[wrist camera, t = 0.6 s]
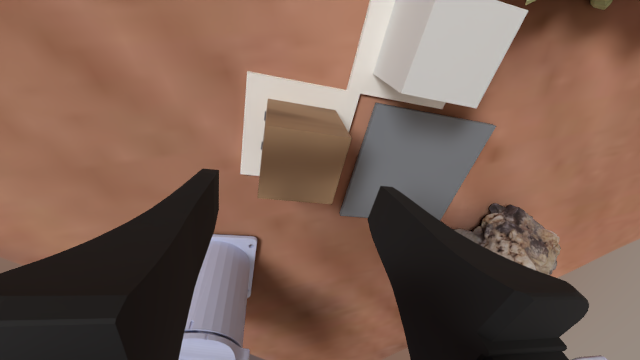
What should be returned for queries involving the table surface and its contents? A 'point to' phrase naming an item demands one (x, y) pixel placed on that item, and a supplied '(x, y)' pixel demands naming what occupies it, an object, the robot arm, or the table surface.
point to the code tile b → (368, 55)
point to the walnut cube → (302, 153)
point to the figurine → (596, 0)
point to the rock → (517, 238)
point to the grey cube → (446, 47)
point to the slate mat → (414, 158)
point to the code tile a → (288, 91)
